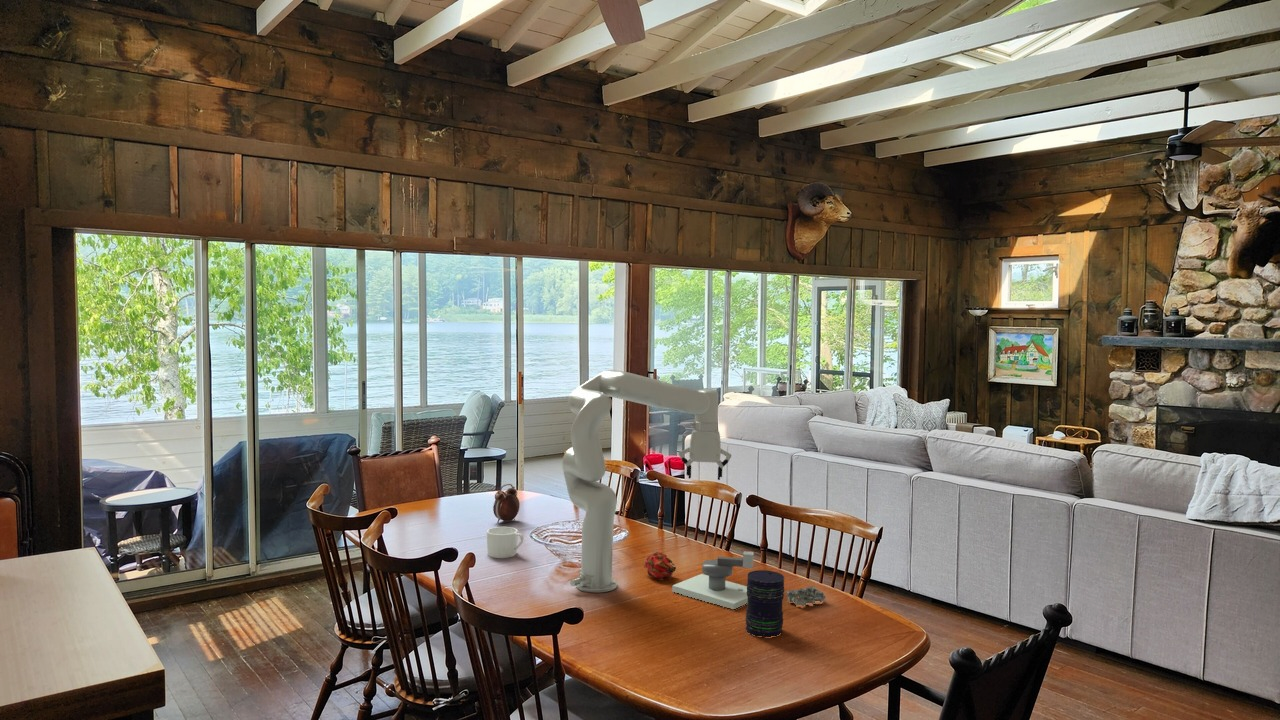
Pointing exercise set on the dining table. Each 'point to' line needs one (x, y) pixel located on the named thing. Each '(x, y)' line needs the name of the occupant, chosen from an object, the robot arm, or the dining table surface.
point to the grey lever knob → (727, 565)
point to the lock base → (713, 590)
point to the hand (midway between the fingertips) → (704, 478)
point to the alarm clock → (506, 504)
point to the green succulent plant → (805, 596)
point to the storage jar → (764, 603)
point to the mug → (503, 542)
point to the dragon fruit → (659, 565)
